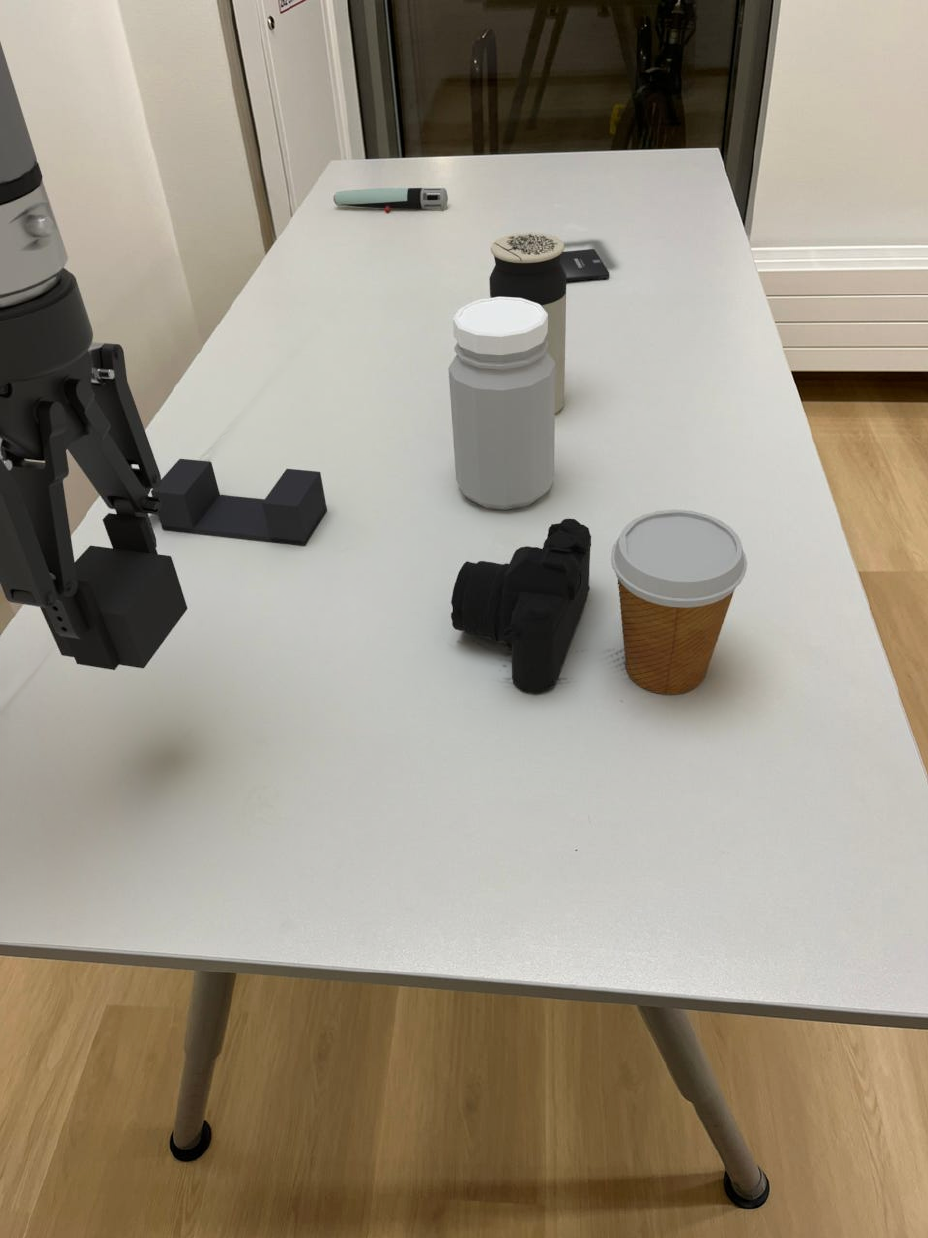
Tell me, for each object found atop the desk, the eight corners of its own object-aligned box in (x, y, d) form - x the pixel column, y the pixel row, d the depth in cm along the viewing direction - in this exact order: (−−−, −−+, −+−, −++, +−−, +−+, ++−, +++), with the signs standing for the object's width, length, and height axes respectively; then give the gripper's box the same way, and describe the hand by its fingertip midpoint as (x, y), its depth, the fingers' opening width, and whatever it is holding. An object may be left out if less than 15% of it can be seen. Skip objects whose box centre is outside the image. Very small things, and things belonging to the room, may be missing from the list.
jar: (456, 516, 92) (443, 340, 80) (457, 463, 99) (446, 295, 88) (557, 512, 92) (559, 335, 80) (551, 459, 99) (552, 289, 87)
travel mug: (547, 383, 112) (547, 226, 100) (575, 413, 106) (580, 250, 94) (483, 397, 110) (477, 239, 98) (509, 428, 104) (505, 264, 93)
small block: (61, 655, 61) (37, 602, 58) (109, 597, 66) (89, 544, 63) (144, 669, 60) (123, 615, 57) (188, 608, 64) (171, 555, 61)
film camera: (494, 567, 86) (490, 482, 80) (599, 585, 83) (604, 499, 77) (434, 681, 75) (425, 593, 69) (553, 706, 72) (554, 617, 66)
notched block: (162, 529, 93) (150, 491, 90) (190, 496, 98) (179, 458, 95) (305, 546, 90) (297, 506, 87) (327, 510, 94) (320, 471, 91)
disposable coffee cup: (638, 612, 80) (649, 492, 72) (747, 653, 76) (770, 530, 68) (582, 680, 74) (587, 558, 66) (695, 728, 70) (715, 603, 62)
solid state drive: (594, 253, 142) (594, 248, 141) (609, 278, 134) (610, 273, 134) (548, 257, 142) (548, 252, 141) (561, 282, 134) (561, 278, 134)
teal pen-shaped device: (328, 204, 161) (444, 203, 158) (332, 184, 163) (447, 183, 159) (333, 218, 164) (447, 218, 161) (337, 198, 166) (450, 197, 162)
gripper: (-67, 374, 40) (99, 744, 55) (155, 220, 53) (239, 550, 69) (-212, 361, 41) (-12, 724, 57) (40, 215, 55) (146, 538, 70)
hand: (125, 628), depth 63 cm, fingers closed on small block, 6 cm apart
